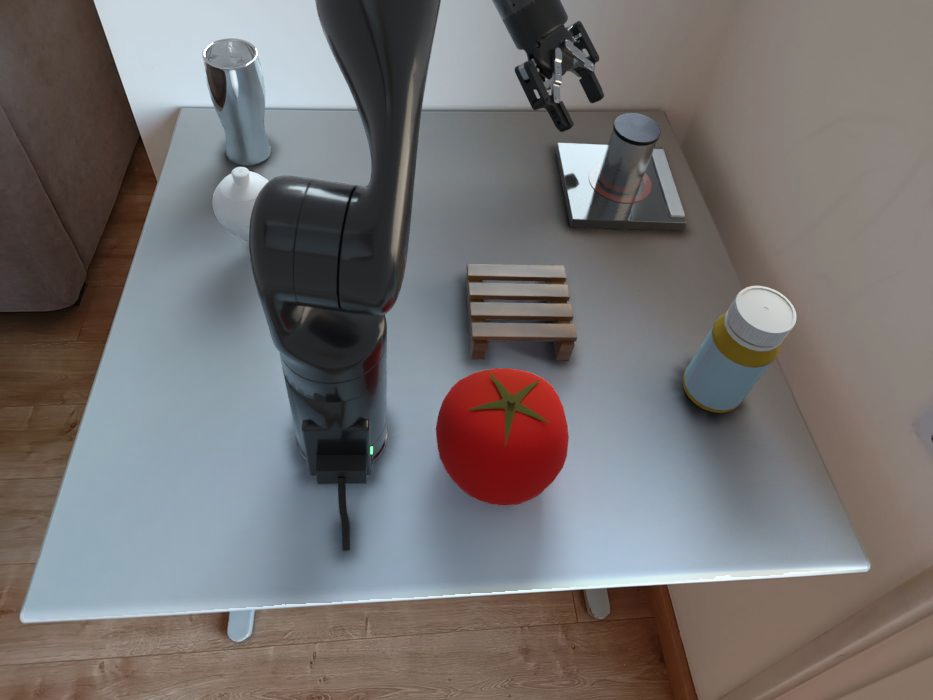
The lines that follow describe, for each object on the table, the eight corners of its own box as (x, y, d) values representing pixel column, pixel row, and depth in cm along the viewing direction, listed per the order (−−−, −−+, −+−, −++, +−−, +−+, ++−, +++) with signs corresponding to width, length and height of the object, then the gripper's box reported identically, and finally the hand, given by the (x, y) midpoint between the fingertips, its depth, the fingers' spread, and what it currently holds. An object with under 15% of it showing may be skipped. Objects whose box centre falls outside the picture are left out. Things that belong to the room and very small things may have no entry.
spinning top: (293, 261, 88) (282, 187, 79) (230, 275, 86) (211, 200, 77) (279, 219, 92) (266, 144, 83) (218, 231, 90) (198, 155, 81)
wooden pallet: (571, 360, 84) (578, 341, 80) (469, 359, 82) (472, 340, 79) (558, 282, 91) (564, 262, 87) (464, 280, 89) (466, 260, 86)
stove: (683, 230, 98) (688, 220, 97) (570, 227, 97) (573, 217, 95) (659, 154, 108) (663, 144, 106) (555, 150, 106) (557, 140, 104)
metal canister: (644, 196, 99) (665, 143, 92) (601, 194, 99) (618, 141, 91) (636, 166, 103) (655, 113, 96) (594, 164, 102) (610, 111, 95)
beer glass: (220, 139, 100) (197, 39, 88) (270, 133, 102) (255, 35, 90) (226, 171, 97) (203, 72, 85) (278, 164, 98) (263, 66, 86)
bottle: (697, 421, 80) (752, 342, 68) (670, 370, 84) (719, 287, 72) (750, 409, 82) (814, 330, 70) (722, 360, 86) (778, 277, 74)
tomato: (454, 536, 70) (465, 485, 60) (420, 418, 77) (425, 356, 68) (574, 506, 73) (603, 453, 63) (530, 395, 80) (550, 333, 71)
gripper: (517, 10, 85) (578, 131, 91) (576, -33, 92) (629, 82, 98) (475, 34, 90) (536, 147, 97) (534, -7, 98) (587, 99, 104)
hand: (583, 114), depth 97 cm, fingers open, 8 cm apart
